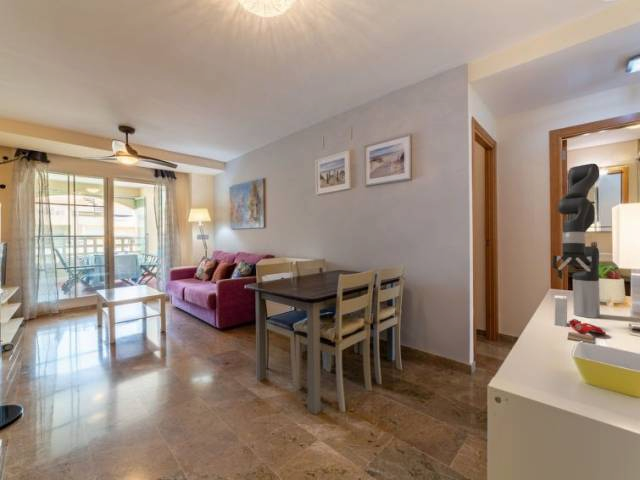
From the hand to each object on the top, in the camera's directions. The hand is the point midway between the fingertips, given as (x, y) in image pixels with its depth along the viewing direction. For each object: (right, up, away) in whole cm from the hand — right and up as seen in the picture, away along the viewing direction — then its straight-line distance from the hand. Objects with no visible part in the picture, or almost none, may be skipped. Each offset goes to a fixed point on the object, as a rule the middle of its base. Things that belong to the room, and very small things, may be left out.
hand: (573, 279), depth 124 cm
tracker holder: (-5, -20, -11) cm, 23 cm away
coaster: (-13, -20, -17) cm, 29 cm away
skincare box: (-6, -20, 0) cm, 21 cm away
